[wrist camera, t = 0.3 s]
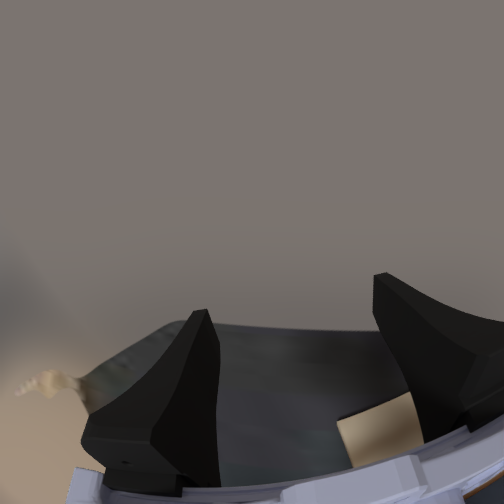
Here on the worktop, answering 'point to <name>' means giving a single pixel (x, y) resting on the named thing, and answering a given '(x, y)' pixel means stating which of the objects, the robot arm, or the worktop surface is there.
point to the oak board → (381, 431)
